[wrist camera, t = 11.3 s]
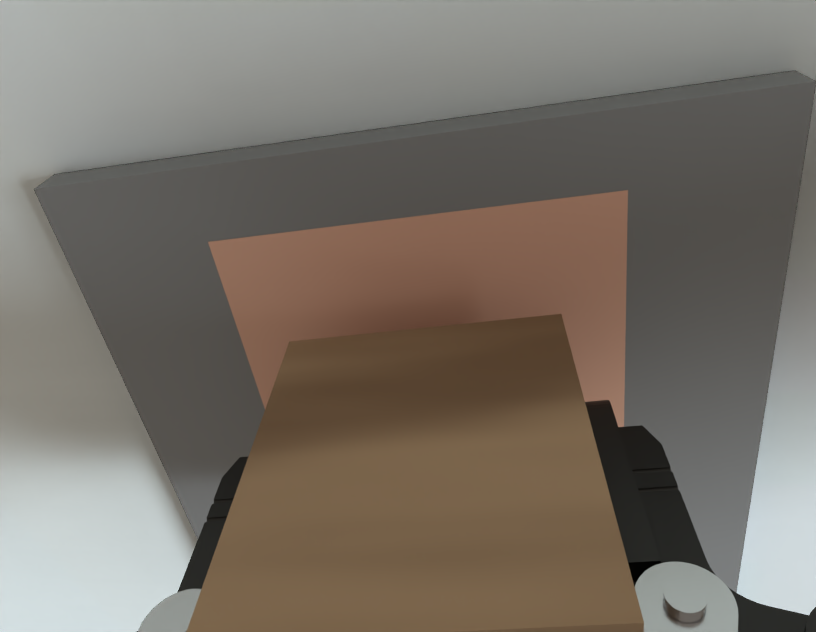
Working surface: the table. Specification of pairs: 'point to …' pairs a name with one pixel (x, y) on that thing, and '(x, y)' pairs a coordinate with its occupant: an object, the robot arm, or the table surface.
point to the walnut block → (423, 492)
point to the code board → (465, 266)
